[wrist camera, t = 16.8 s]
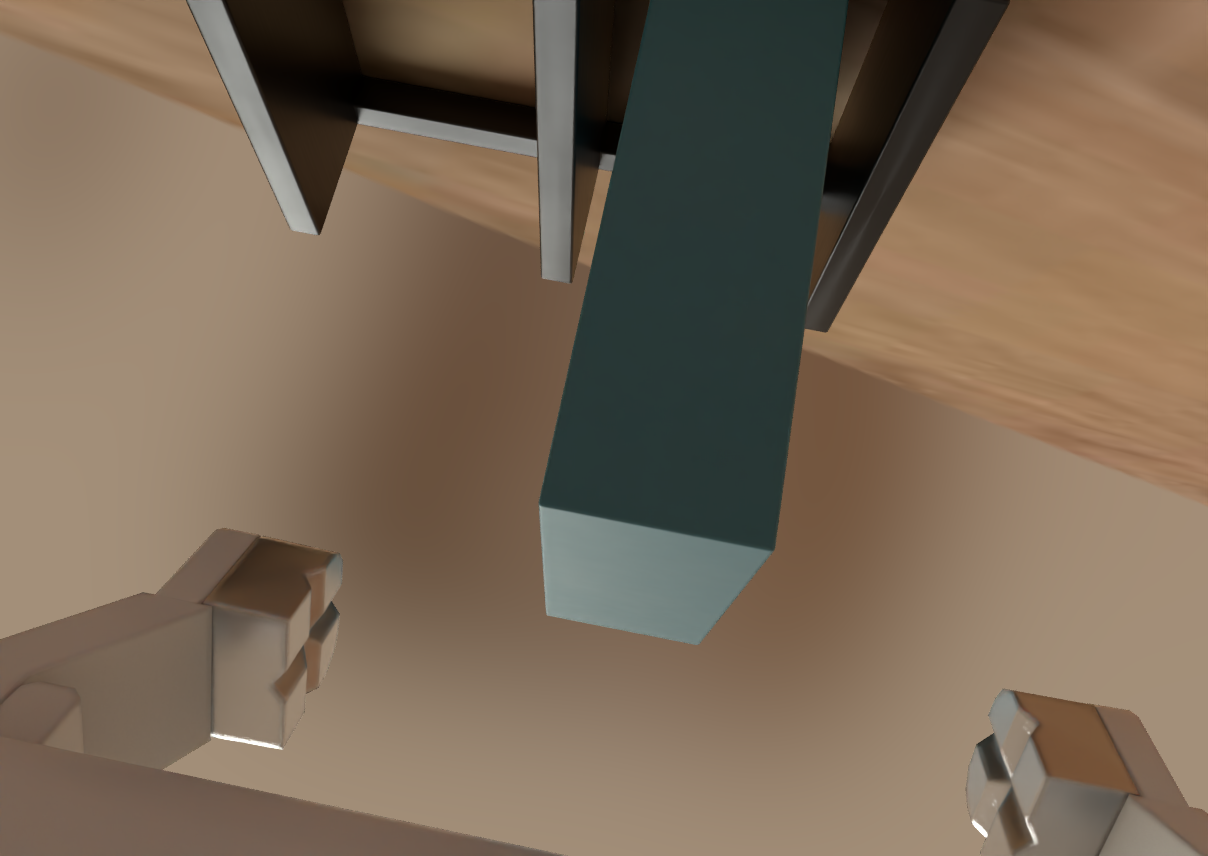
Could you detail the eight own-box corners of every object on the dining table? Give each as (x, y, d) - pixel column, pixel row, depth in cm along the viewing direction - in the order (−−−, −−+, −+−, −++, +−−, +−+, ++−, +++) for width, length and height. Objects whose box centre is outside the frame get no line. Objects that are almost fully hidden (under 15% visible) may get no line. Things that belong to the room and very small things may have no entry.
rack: (1024, -208, 21) (1010, 4, 19) (846, 184, 34) (827, 333, 32) (205, -350, 21) (111, -160, 19) (338, 89, 34) (289, 231, 32)
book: (868, -148, 23) (775, 551, 17) (778, 137, 32) (698, 647, 27) (689, -179, 23) (537, 505, 17) (651, 113, 32) (545, 616, 27)
